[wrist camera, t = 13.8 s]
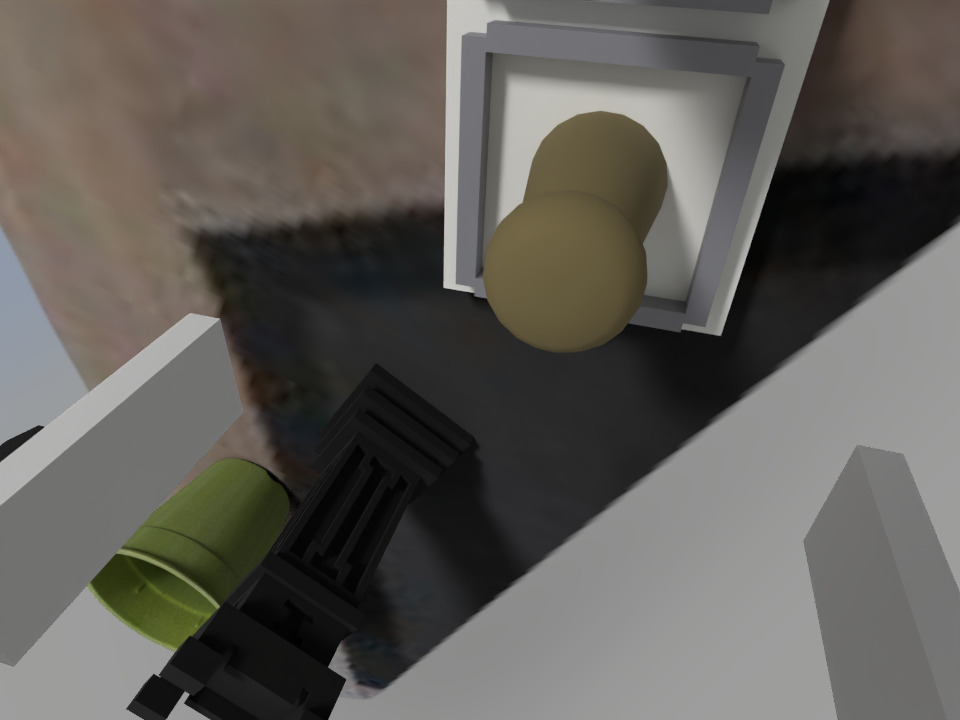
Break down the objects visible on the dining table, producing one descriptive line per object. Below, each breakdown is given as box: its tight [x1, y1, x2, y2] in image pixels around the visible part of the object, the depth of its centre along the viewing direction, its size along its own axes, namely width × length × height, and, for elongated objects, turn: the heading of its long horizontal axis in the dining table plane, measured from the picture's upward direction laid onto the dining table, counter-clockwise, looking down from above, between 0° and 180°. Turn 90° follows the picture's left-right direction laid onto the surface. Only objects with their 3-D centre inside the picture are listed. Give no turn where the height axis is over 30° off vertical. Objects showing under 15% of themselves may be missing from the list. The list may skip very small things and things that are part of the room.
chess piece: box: [127, 364, 474, 720], centre depth 34 cm, size 8×8×20 cm
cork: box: [483, 111, 668, 353], centre depth 23 cm, size 6×6×11 cm
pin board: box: [444, 0, 830, 336], centre depth 20 cm, size 26×14×13 cm, turn 177°
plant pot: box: [87, 458, 290, 652], centre depth 46 cm, size 12×12×11 cm
